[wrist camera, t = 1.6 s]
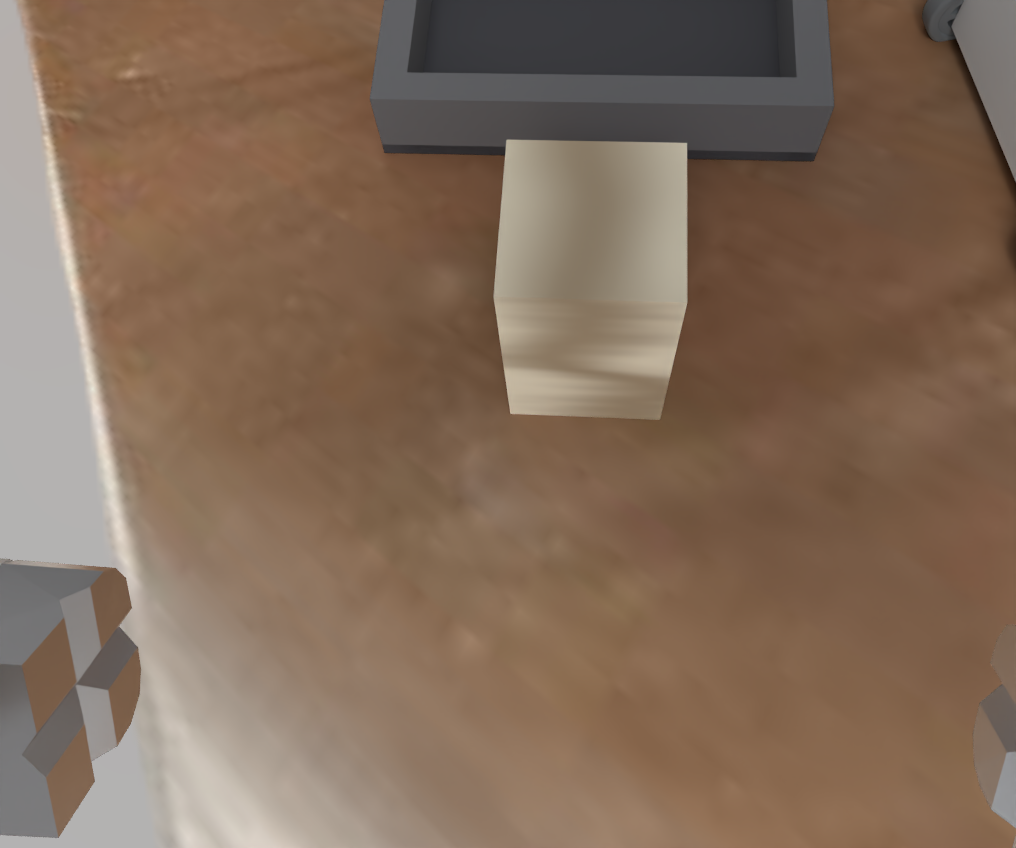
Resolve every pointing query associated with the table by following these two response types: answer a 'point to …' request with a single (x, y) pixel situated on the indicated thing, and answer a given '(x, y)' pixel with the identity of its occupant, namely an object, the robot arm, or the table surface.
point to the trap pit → (605, 75)
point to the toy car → (984, 56)
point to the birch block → (591, 275)
